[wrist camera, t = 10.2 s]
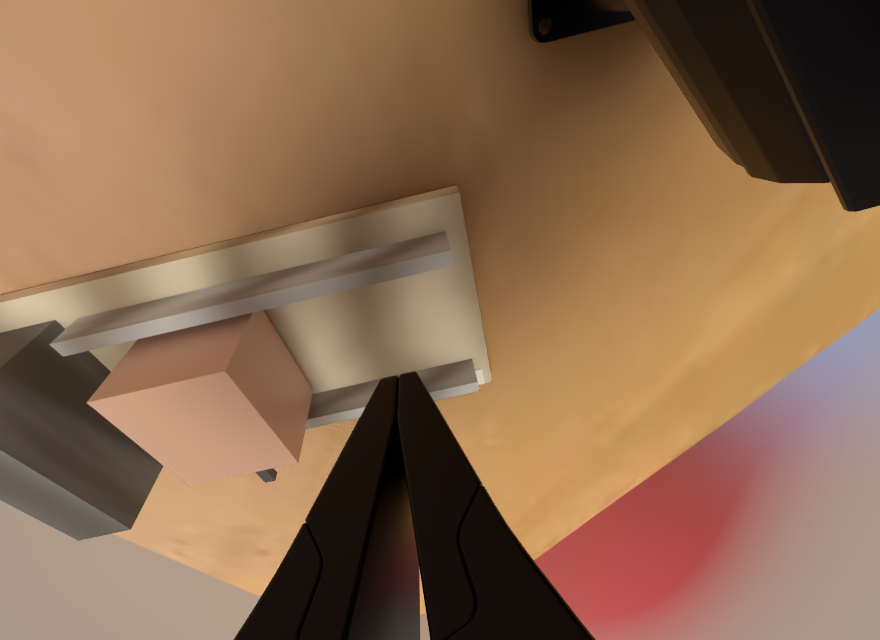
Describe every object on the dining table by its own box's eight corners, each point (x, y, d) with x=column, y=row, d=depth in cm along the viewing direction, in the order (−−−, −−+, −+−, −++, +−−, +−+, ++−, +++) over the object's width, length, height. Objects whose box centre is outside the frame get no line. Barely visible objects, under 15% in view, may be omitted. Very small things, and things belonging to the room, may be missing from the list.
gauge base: (456, 185, 18) (486, 253, 13) (488, 370, 26) (515, 462, 21) (-12, 297, 19) (-176, 408, 13) (158, 444, 27) (99, 551, 21)
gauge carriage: (257, 301, 19) (224, 371, 15) (328, 414, 25) (317, 486, 21) (147, 327, 20) (86, 402, 16) (242, 433, 25) (215, 508, 21)
